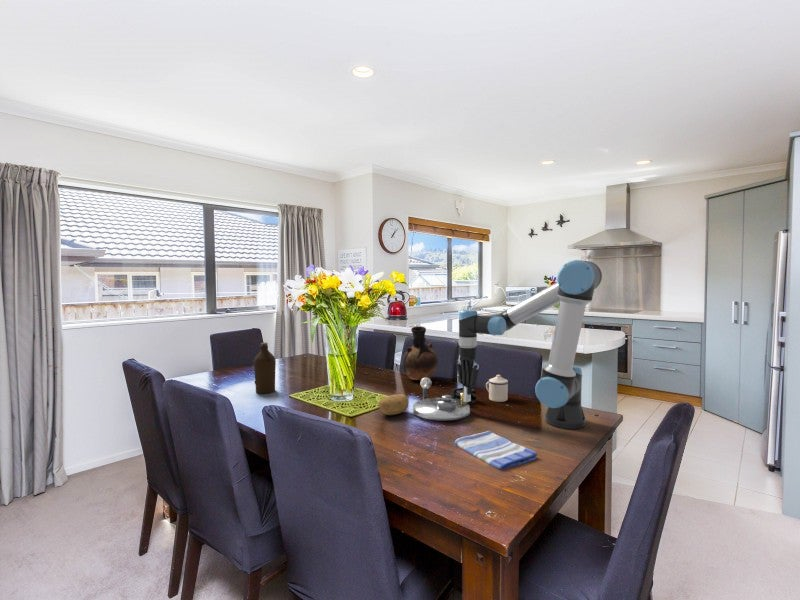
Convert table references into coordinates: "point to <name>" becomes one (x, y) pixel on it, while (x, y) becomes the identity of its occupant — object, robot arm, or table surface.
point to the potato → (393, 404)
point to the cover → (446, 403)
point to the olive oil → (264, 371)
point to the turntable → (430, 411)
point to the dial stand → (425, 386)
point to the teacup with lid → (498, 389)
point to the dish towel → (495, 450)
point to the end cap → (457, 395)
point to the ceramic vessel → (419, 356)
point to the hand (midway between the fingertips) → (467, 401)
